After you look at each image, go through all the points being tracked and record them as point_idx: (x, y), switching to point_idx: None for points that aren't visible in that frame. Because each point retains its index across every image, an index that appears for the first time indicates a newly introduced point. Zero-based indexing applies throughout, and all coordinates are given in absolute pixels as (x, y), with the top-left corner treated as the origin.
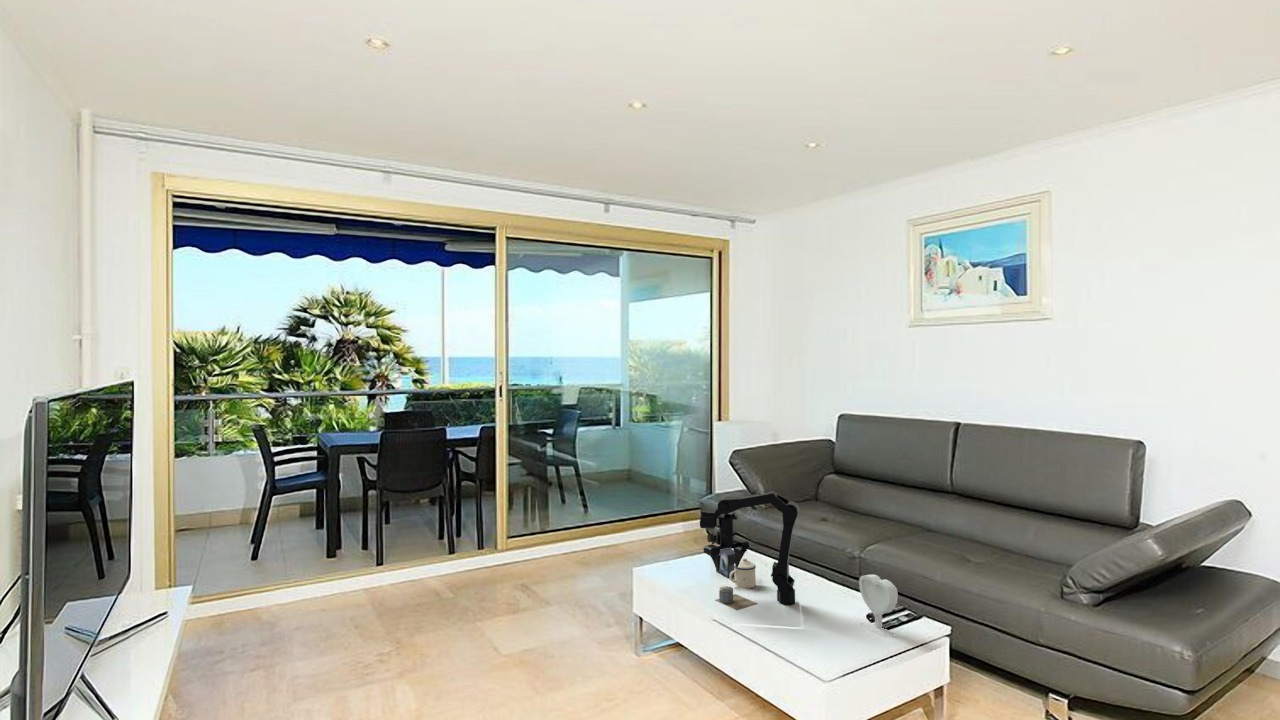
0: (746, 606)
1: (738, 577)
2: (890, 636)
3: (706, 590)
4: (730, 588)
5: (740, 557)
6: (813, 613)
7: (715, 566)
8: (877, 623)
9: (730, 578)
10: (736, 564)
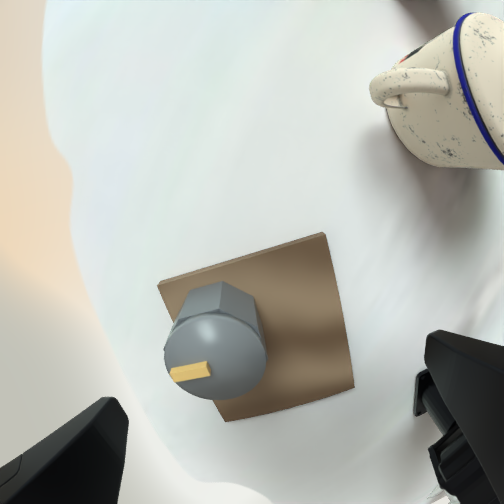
0: (286, 403)
1: (428, 115)
2: (433, 496)
3: (188, 75)
4: (246, 370)
5: (495, 477)
6: (436, 438)
7: (69, 431)
8: (446, 492)
9: (372, 95)
10: (441, 375)
